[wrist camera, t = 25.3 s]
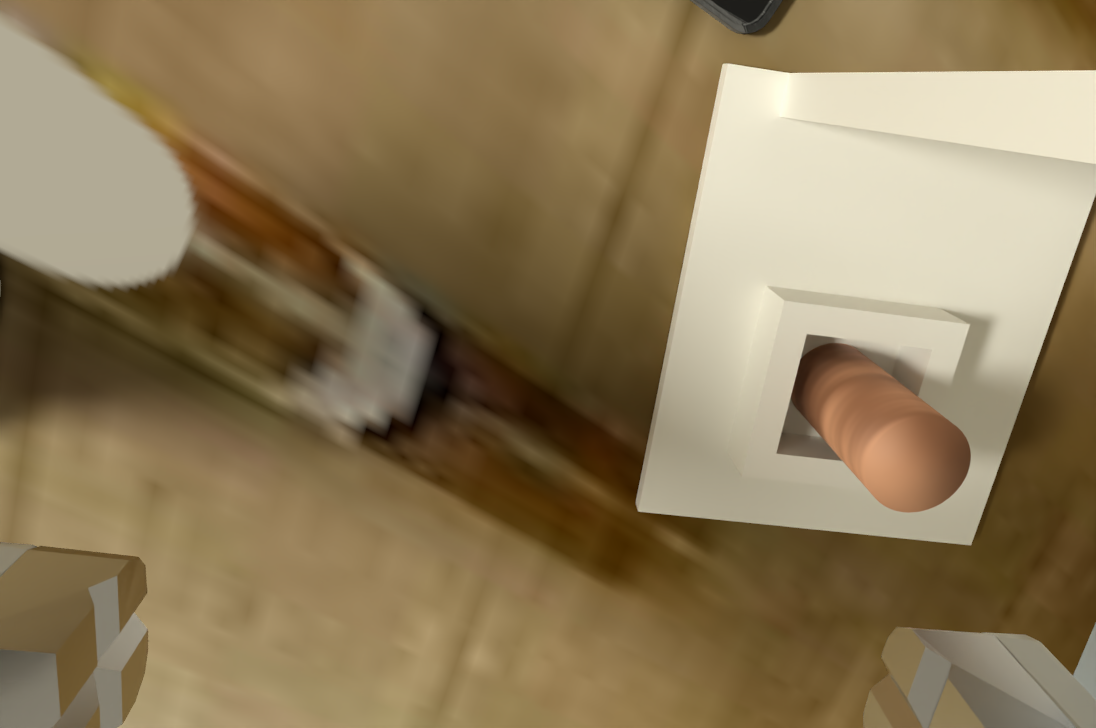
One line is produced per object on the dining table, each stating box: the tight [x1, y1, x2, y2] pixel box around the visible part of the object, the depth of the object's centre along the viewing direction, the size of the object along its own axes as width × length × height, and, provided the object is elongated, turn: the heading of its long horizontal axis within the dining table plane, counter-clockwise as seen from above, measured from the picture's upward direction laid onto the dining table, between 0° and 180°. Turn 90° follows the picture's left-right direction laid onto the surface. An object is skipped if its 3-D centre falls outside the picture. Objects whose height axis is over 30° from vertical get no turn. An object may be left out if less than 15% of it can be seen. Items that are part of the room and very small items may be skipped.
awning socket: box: [636, 64, 1096, 700], centre depth 30 cm, size 20×24×30 cm
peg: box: [791, 343, 971, 513], centre depth 39 cm, size 4×4×10 cm
